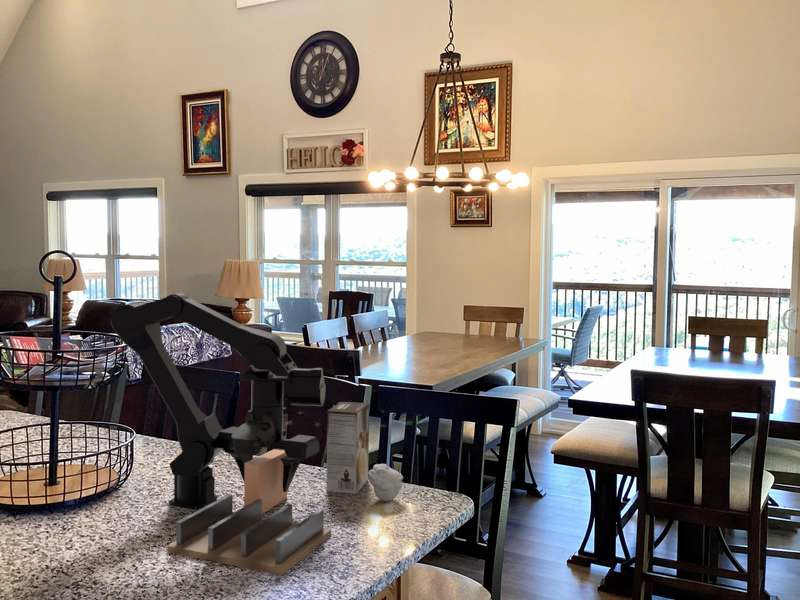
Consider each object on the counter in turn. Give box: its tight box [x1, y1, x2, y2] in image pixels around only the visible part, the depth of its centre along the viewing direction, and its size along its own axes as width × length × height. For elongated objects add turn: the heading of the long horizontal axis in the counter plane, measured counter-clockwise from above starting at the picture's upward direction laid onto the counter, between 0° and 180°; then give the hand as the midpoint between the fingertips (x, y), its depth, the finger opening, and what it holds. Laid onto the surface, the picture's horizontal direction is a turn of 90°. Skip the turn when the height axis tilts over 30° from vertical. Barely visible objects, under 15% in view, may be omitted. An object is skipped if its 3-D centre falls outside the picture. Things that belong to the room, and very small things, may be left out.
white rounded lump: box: [367, 463, 404, 502], centre depth 135 cm, size 6×7×7 cm
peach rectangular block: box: [243, 448, 288, 514], centre depth 131 cm, size 3×10×9 cm, turn 159°
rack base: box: [166, 511, 332, 576], centre depth 114 cm, size 20×16×1 cm
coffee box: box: [325, 401, 370, 495], centre depth 143 cm, size 9×6×16 cm
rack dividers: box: [175, 493, 325, 564], centre depth 114 cm, size 18×14×4 cm
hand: (266, 488), depth 132 cm, fingers open, 8 cm apart
